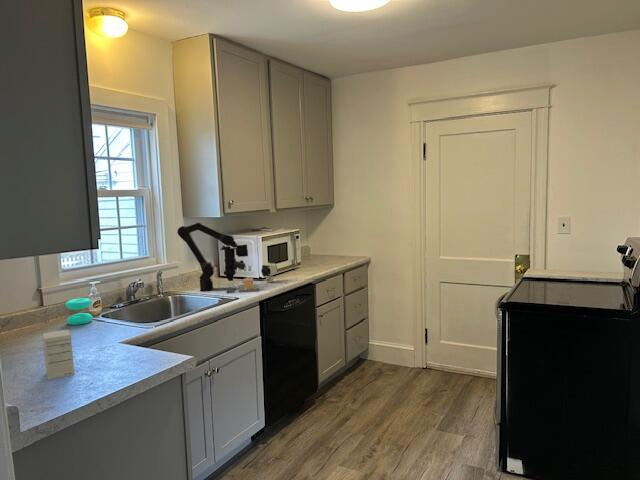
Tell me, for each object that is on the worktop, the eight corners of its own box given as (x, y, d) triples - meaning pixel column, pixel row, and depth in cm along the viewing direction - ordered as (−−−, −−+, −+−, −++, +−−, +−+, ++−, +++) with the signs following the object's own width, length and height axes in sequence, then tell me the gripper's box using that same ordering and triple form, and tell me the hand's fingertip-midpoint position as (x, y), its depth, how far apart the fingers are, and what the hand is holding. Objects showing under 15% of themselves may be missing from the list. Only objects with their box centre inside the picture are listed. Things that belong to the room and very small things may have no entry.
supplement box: (46, 373, 146) (42, 333, 145) (73, 367, 150) (69, 328, 149) (46, 380, 140) (42, 338, 139) (74, 375, 144) (71, 334, 142)
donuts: (69, 303, 199) (62, 300, 206) (71, 327, 200) (64, 323, 207) (94, 299, 206) (86, 296, 213) (96, 322, 207) (88, 318, 214)
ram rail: (226, 293, 258) (226, 287, 257) (229, 288, 271) (228, 283, 271) (232, 292, 258) (232, 287, 258) (234, 287, 272) (234, 282, 271)
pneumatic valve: (261, 284, 280) (260, 263, 279) (271, 280, 291) (270, 261, 290) (269, 284, 278) (268, 264, 277) (279, 280, 289) (278, 261, 288)
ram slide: (227, 288, 265) (227, 281, 265) (228, 286, 268) (228, 280, 268) (233, 287, 266) (233, 281, 265) (234, 286, 269) (233, 280, 268)
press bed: (238, 292, 258) (238, 290, 258) (239, 289, 266) (239, 287, 266) (257, 291, 259) (257, 289, 259) (257, 288, 267) (257, 286, 267)
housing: (243, 289, 260) (243, 278, 259) (244, 287, 265) (243, 277, 264) (252, 288, 260) (252, 278, 260) (253, 287, 265) (252, 276, 265)
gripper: (243, 258, 260) (244, 286, 262) (244, 254, 279) (246, 280, 280) (222, 259, 259) (224, 288, 260) (225, 255, 277) (227, 281, 279)
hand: (231, 284), depth 270 cm, fingers closed
